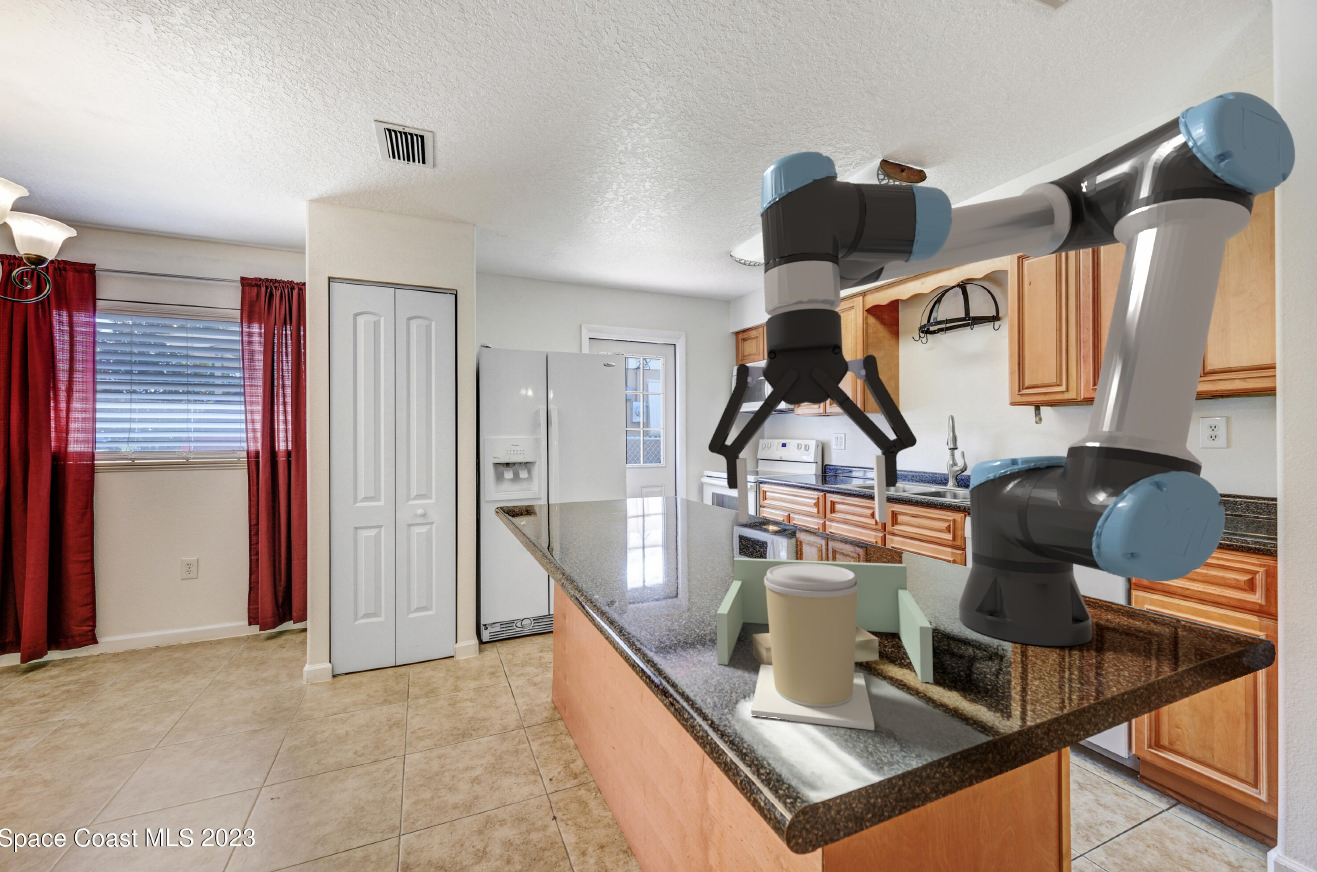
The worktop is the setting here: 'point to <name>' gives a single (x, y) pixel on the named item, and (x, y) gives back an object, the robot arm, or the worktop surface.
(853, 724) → the white square tile
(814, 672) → the coffee cup
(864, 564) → the screen
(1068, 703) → the worktop surface
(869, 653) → the birch offcut
